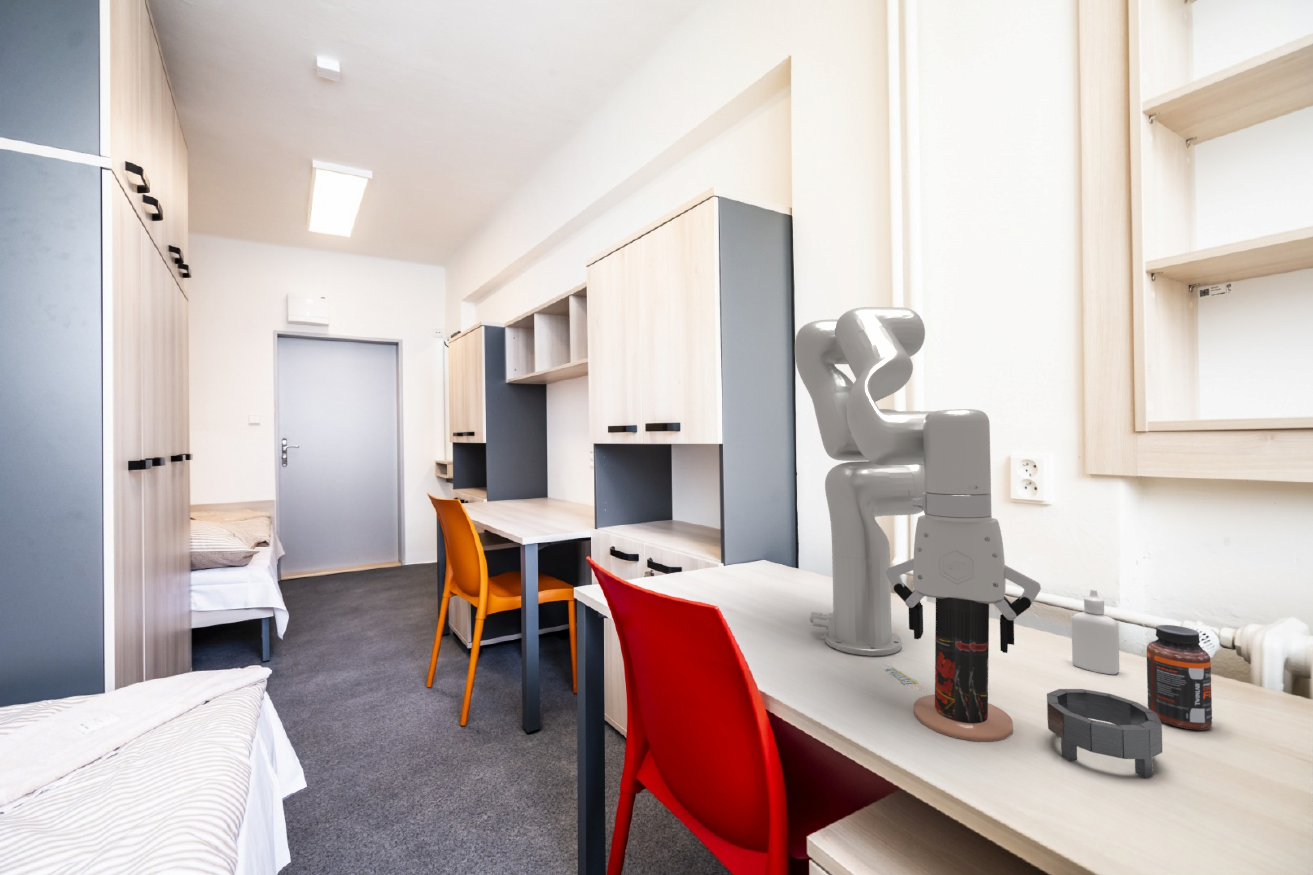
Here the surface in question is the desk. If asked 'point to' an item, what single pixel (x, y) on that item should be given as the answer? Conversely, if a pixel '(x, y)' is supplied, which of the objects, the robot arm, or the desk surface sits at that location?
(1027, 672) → the desk surface
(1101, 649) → the eye dropper bottle
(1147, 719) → the ring stand
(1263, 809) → the desk surface
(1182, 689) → the supplement bottle
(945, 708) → the deodorant
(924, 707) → the coaster
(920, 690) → the keychain
